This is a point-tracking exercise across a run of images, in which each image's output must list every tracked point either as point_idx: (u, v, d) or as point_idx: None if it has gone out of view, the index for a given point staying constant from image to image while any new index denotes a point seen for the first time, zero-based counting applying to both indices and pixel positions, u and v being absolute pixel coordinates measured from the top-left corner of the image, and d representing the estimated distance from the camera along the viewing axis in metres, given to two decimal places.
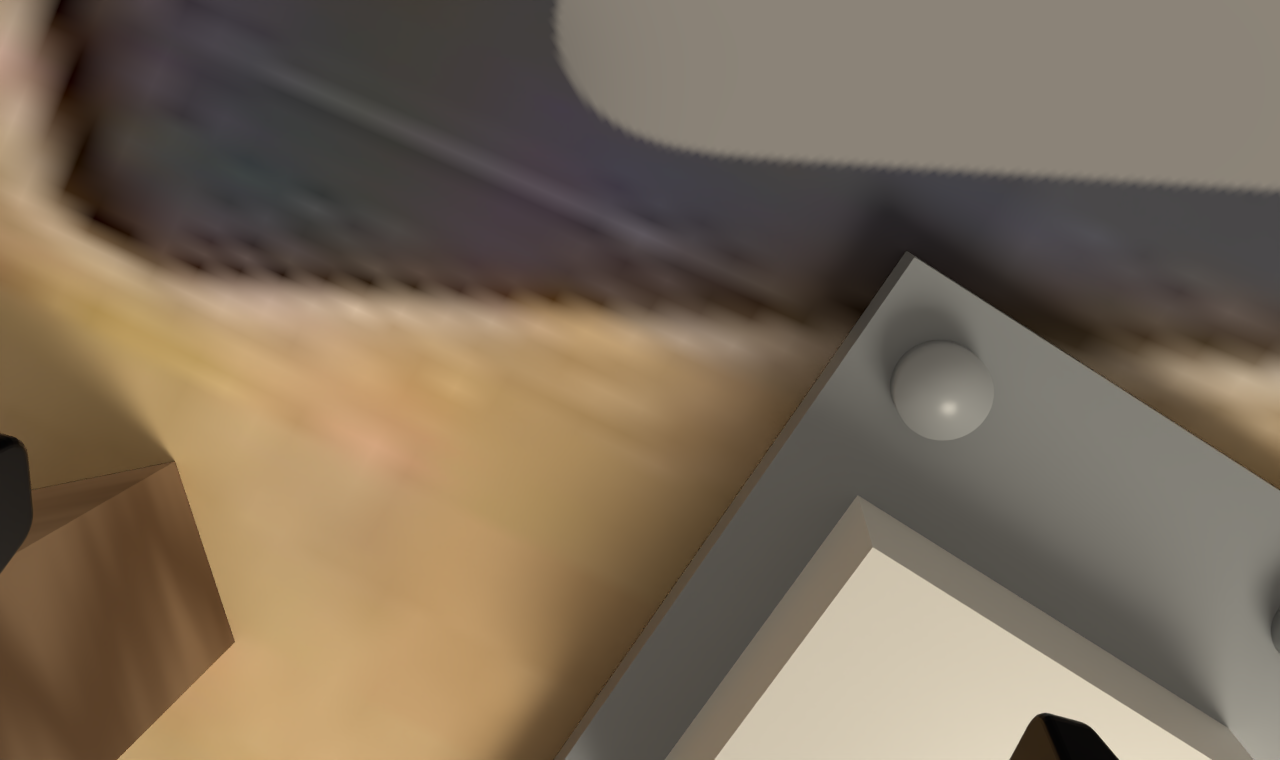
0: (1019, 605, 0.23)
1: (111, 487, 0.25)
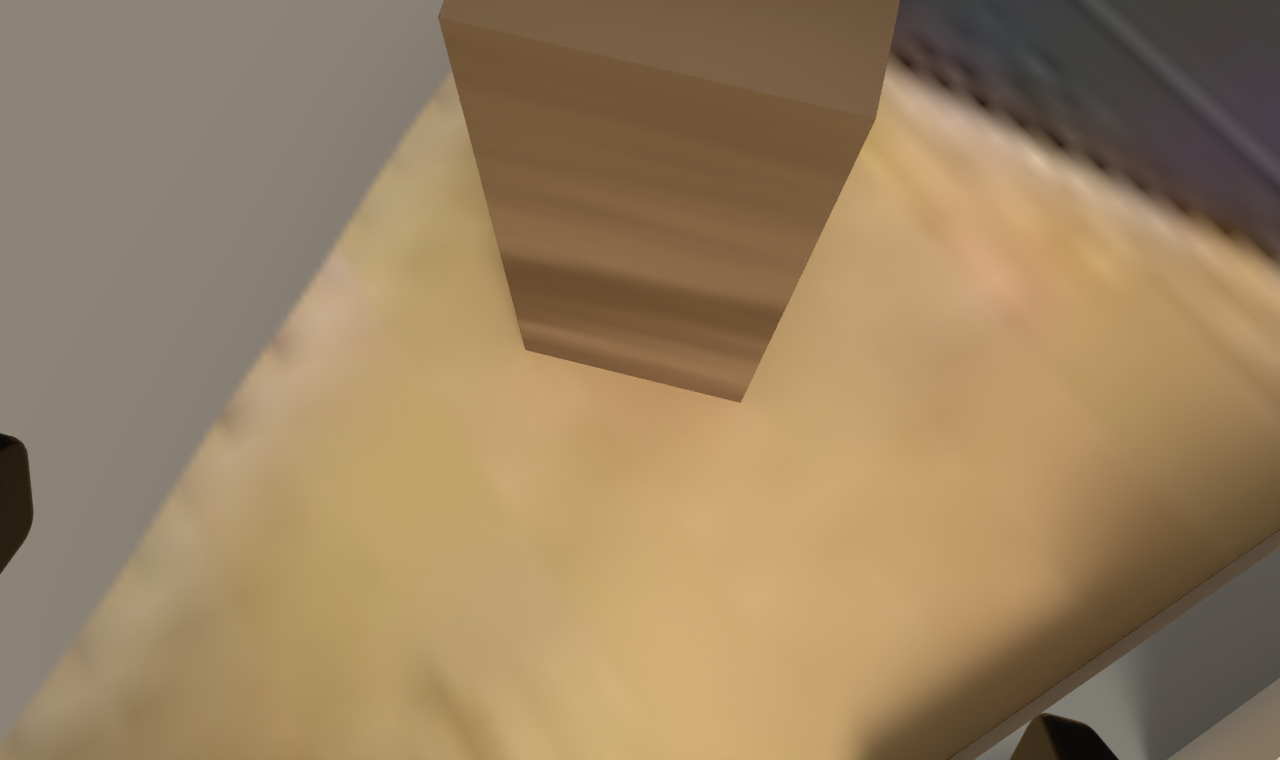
0: None
1: None
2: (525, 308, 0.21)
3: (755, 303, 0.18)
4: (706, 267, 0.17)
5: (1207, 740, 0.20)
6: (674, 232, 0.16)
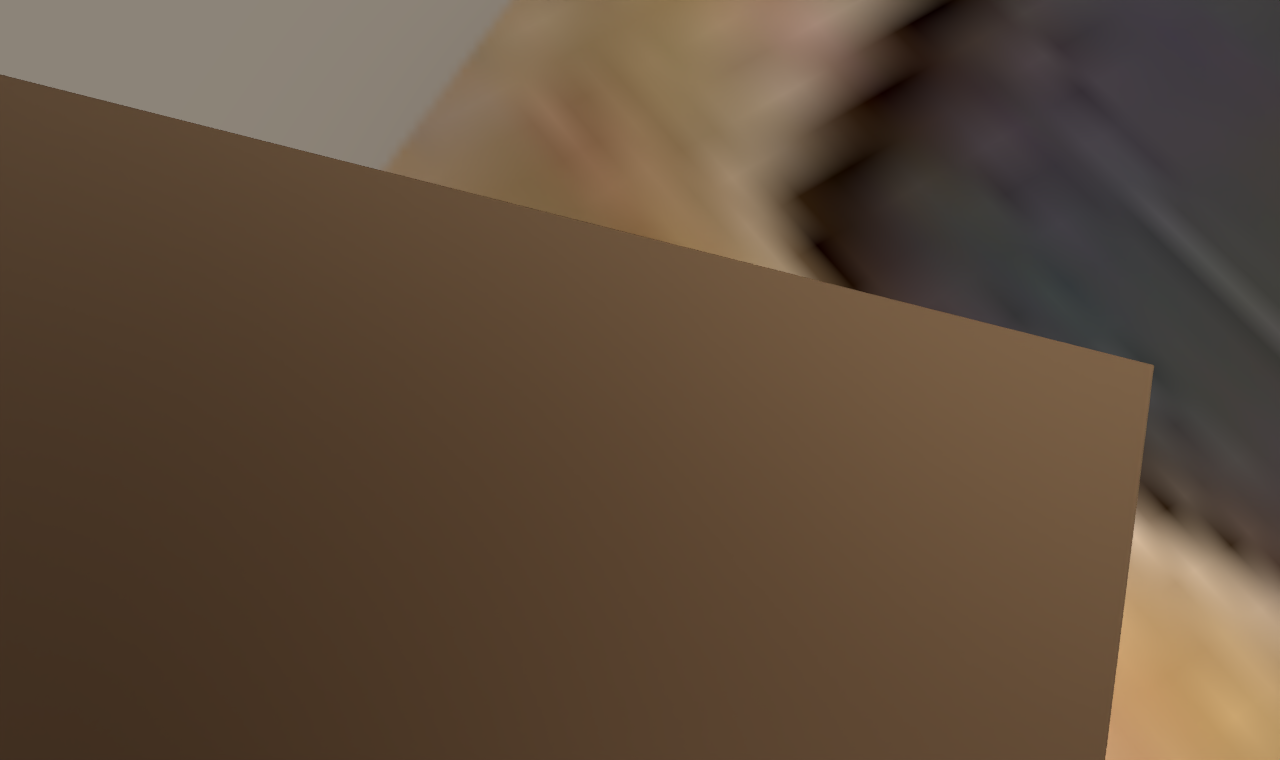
0: None
1: None
2: None
3: None
4: None
5: None
6: None
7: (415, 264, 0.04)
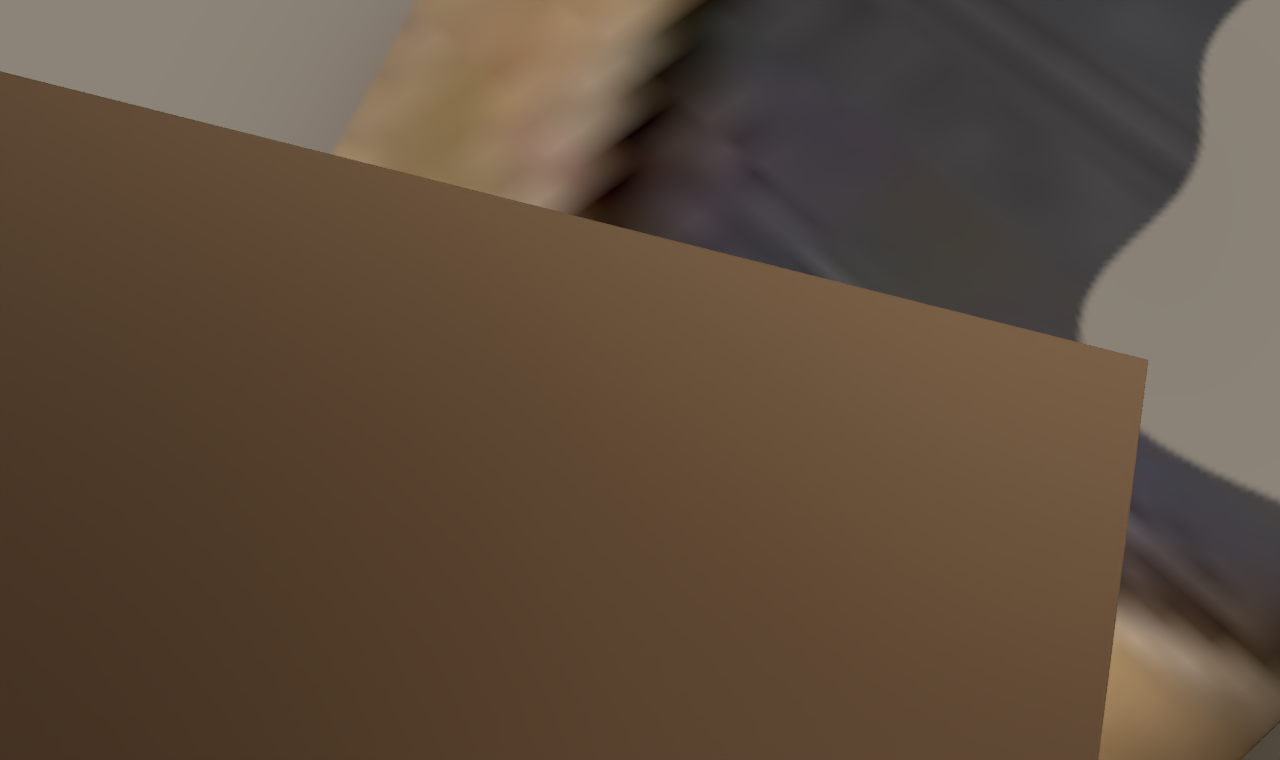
0: None
1: None
2: None
3: None
4: None
5: None
6: None
7: (411, 259, 0.04)
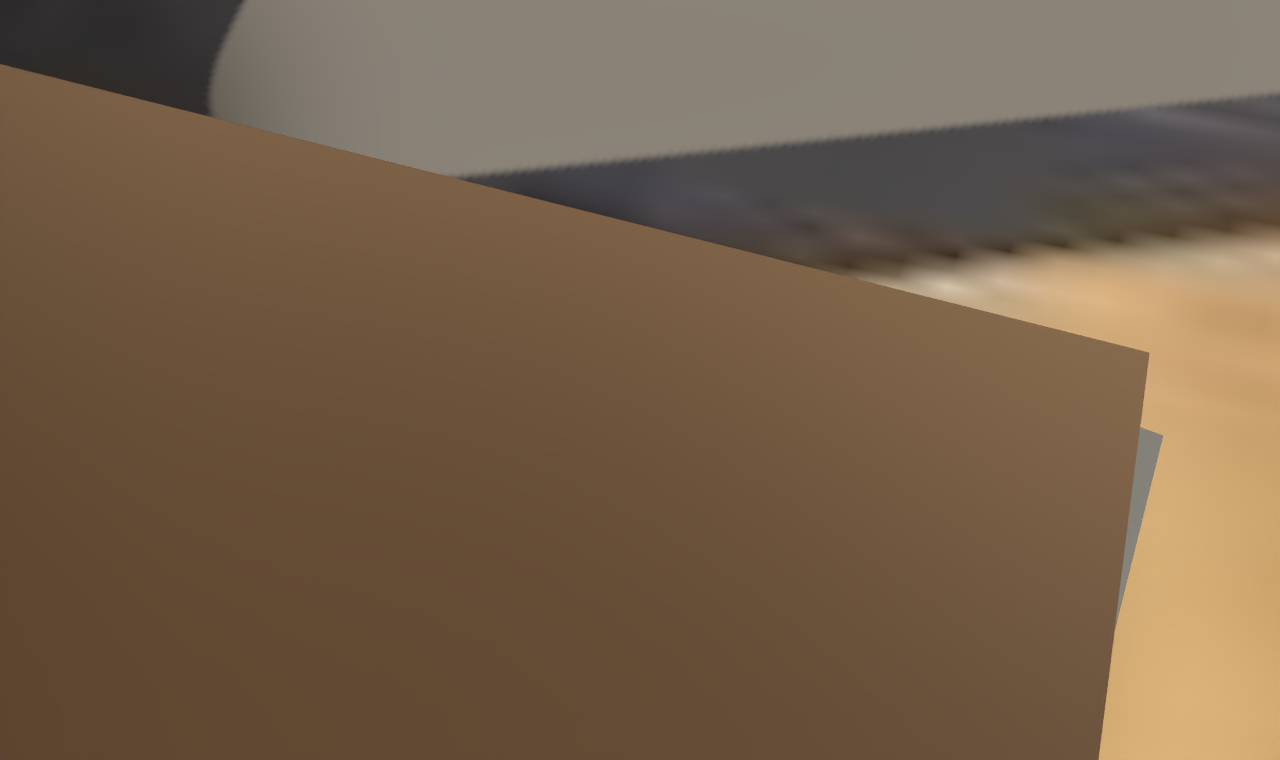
0: None
1: None
2: None
3: None
4: None
5: None
6: None
7: (413, 252, 0.04)
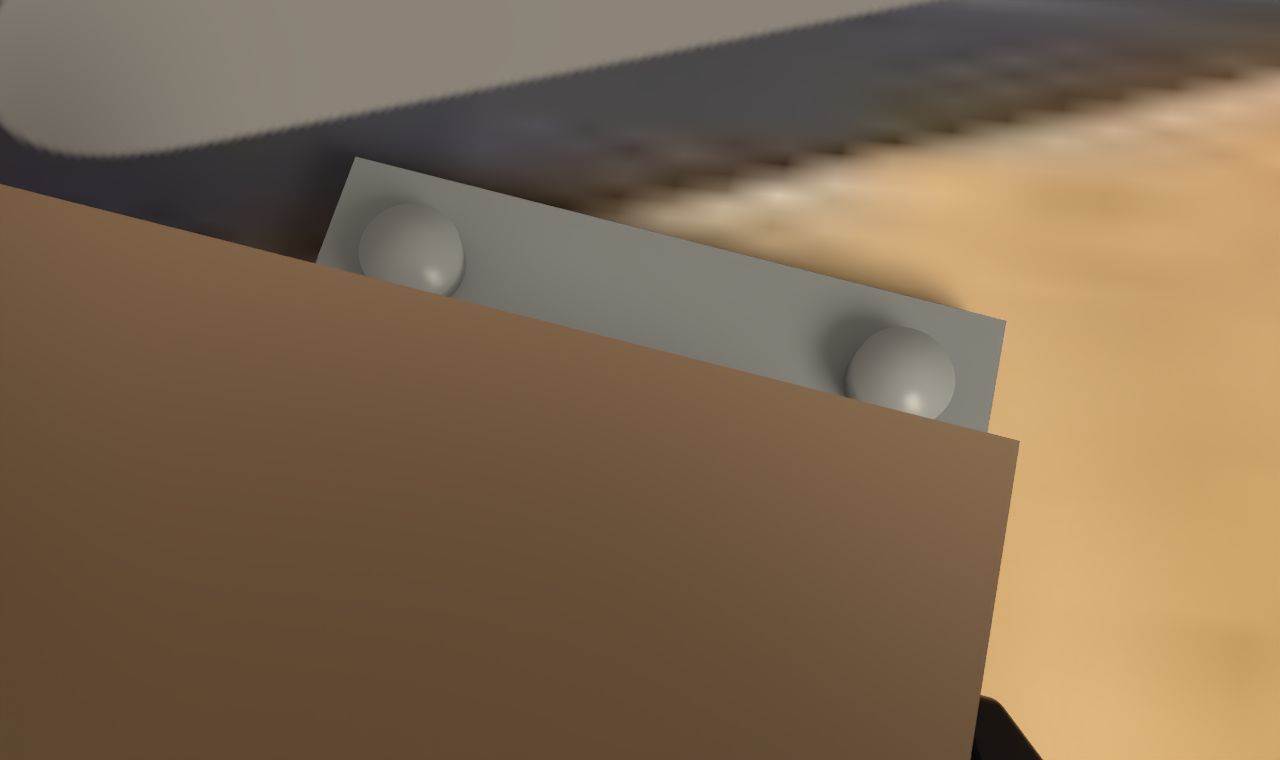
0: None
1: None
2: None
3: None
4: None
5: None
6: None
7: (460, 366, 0.05)
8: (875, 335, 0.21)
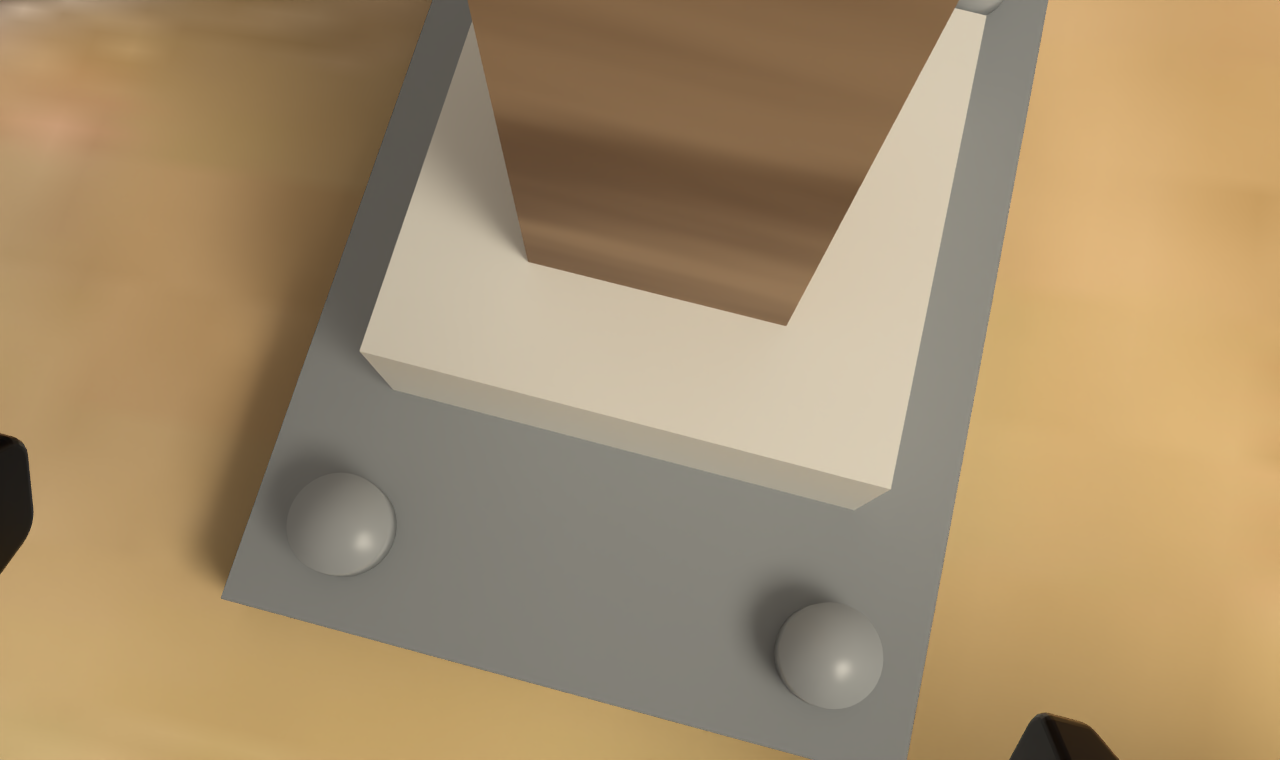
0: None
1: None
2: (527, 200, 0.17)
3: (824, 175, 0.14)
4: (763, 121, 0.13)
5: None
6: (724, 62, 0.12)
7: None
8: None
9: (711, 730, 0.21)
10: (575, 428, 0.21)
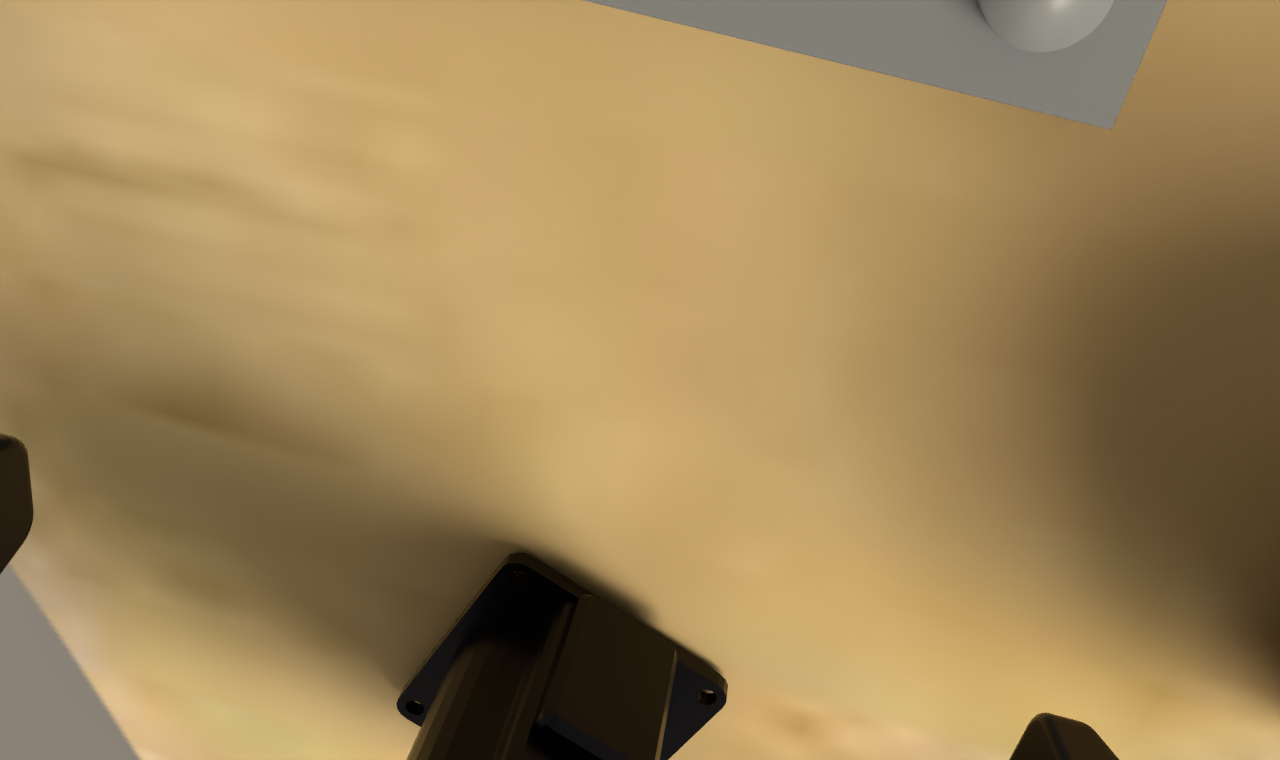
0: None
1: None
2: None
3: None
4: None
5: None
6: None
7: None
8: None
9: (889, 73, 0.18)
10: None
